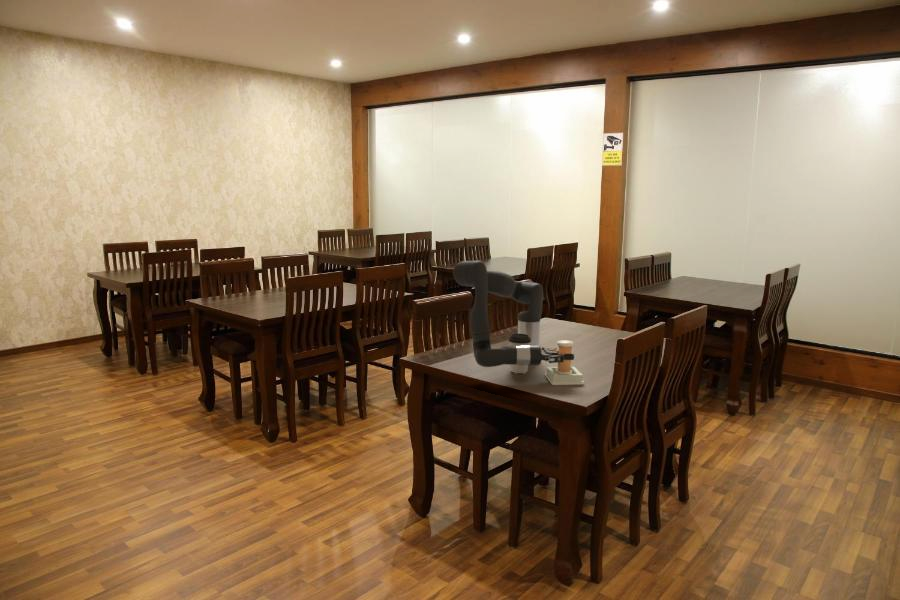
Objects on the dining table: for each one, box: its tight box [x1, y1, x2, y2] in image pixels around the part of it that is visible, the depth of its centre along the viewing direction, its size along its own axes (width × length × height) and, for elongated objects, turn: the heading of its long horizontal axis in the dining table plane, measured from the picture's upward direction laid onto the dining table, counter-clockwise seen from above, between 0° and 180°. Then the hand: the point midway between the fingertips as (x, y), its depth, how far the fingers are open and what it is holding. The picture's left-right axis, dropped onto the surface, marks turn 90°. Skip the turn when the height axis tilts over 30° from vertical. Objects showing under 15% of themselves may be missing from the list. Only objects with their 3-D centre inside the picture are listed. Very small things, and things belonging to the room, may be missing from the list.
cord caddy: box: [544, 366, 585, 386], centre depth 227 cm, size 12×12×4 cm
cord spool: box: [556, 339, 574, 374], centre depth 226 cm, size 6×6×12 cm
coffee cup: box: [507, 333, 531, 374], centre depth 237 cm, size 9×9×15 cm
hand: (571, 354), depth 226 cm, fingers closed on cord spool, 4 cm apart
